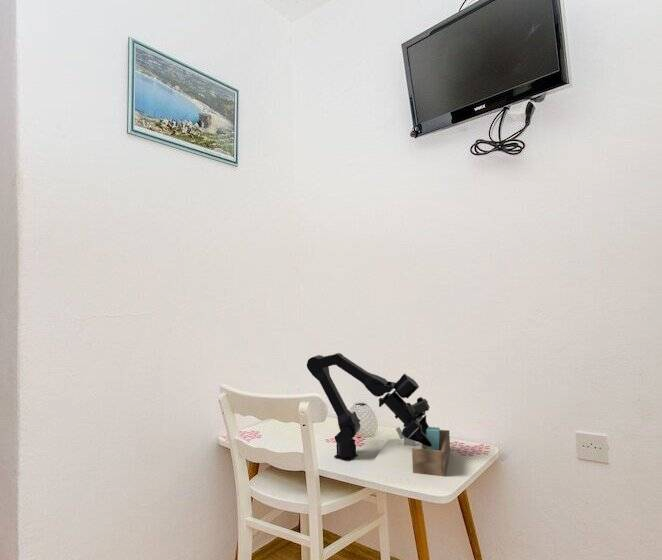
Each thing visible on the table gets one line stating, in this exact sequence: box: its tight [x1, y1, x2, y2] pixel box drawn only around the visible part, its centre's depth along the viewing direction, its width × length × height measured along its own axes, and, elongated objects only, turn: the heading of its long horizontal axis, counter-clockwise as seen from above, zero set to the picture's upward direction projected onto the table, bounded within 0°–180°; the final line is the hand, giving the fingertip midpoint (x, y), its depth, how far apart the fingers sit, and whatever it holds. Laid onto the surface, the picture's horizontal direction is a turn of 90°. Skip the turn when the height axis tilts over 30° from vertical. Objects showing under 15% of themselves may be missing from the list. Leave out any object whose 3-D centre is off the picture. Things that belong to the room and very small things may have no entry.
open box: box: [411, 429, 451, 478], centre depth 144 cm, size 10×23×9 cm, turn 160°
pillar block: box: [426, 426, 441, 451], centre depth 144 cm, size 4×4×11 cm
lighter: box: [395, 426, 416, 447], centre depth 162 cm, size 7×2×8 cm, turn 78°
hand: (432, 441), depth 144 cm, fingers open, 9 cm apart
